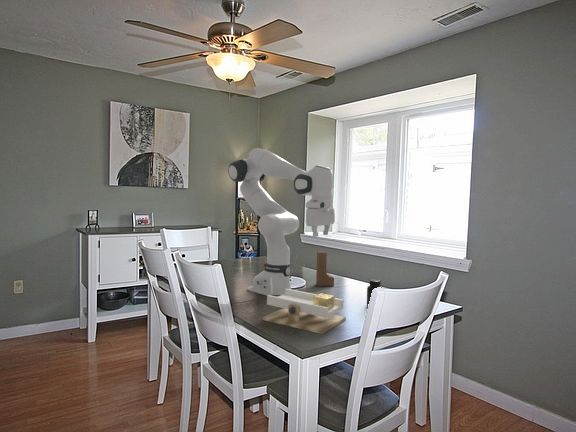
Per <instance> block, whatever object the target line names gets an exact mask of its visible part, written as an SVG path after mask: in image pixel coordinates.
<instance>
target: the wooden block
mask: <svg viewBox="0 0 576 432" xmlns="http://www.w3.org/2000/svg"><path fill="white" fill-rule="evenodd" d="M327 257H328V253H327V252H326V251H323V250H322V251H316V272H315V273H316V274H315V275H316V277H315V284H316V286H317V287H334V286H335V277H334V276H332V275H329V274H328V273H327V261H328V260H327V259H328V258H327Z"/></svg>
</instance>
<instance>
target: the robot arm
mask: <svg viewBox="0 0 576 432" xmlns="http://www.w3.org/2000/svg"><path fill="white" fill-rule="evenodd" d="M227 173H228V176H229V178H230V179H231V181H233V182H235V183H241V184H240V185H239V192H240V193H241V195H242V196H243V198H244V200H245V201H246V203H247V204H248V206H250V209H252V211H254V213H255V214H256V215H257V216H258V217H260V218H259V220H258V223H257V228H258V230H259V232H260V234H261V235H262V236H263V238H264V240H265V244H266V250H267V253H266V259H267V260H266V261H267V262H266V263H264V264H263V265H262V268H263V270H262V271H260V272H259V273H258V274H256V276H254V278H253V279H252V285H249V286H248V287H247V291H250V292H252V293H256V294H258V295H259V294H260V295H264V296H266V297H267V296H268V295H271V296H281V295H283V294H285V289H292V286H291V277H290V275H291V263H290V260H291V257H290V256H291V255H290V254H291V248H290V246H289V245H288V244H287V242H286V238H285V236H286V235H287V236H288V235H291V234H293V233H295V232H297V230H299V227H300V221H299V218H298V217H297V216H296V215H295V214H294V213H291V212H289V211H288V210H287V209H286V208H285V207H283V206H282V205H280V204H279V203H278V202H276V201H275V200H274V199H273V198H272V197H271V195H270V193H268V192H267V191H266V189H264V187H263V186H262V184H261V183H260V182H262V181H264V180H265V177H269V178H273V179H284V180H286V179H287V180H292V181H293V182H292V183H293V190H294V192H295V193H296V194H298V195H300V196H311V199H309V200H308V201H307V202H305V208H306V211H305V224H306V227H311V228H310V229H311V231H312V236H313V238H315V237H316V238H317V237H319V232H318V227H319V226H320V227H321V226H324V229H323V231H322V235H323V236H328V235H329V230H330V228H331V225H334V224H335V221H336V220H335V217H336V216H335V215H336V214H335V208H334V207H333V194H332V193H333V192H332V190H333V187H334V186H333V183H334V178H333V177H334V176H333V170H332V169H331V168H330V167H328V166H323V165H315V166H313V167H312V168H311V169H310V170H308V171H306V170H304V169H303V168H300V167H298V166H296V165H295V164H292V163H290V162H289V161H287V160H285V159H284V158H282V157H281V156H279V155H277V154H275V153H273V152H272V151H270V150H267V149H265V148H259V147H255V148H253V149H251V150H250V152H249V154H248V157H247V158H246V157H245V158H243V159H242V158H241V159H238V160H234V161H233V162H231V163H230V164H229V166H228V169H227Z"/></svg>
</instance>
